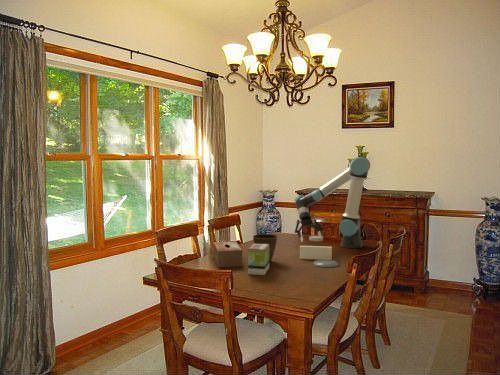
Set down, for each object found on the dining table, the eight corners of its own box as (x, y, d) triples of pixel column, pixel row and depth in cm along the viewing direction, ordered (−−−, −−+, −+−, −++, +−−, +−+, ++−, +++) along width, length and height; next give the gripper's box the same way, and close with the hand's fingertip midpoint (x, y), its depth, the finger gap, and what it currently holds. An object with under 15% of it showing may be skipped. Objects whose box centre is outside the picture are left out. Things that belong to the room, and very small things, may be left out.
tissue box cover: (242, 266, 256) (242, 250, 256) (218, 267, 254) (218, 251, 253) (235, 256, 282) (235, 241, 281) (214, 257, 279) (213, 242, 278)
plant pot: (264, 257, 277) (264, 233, 276) (282, 261, 267) (282, 236, 265) (248, 261, 267) (248, 236, 265) (265, 265, 256) (265, 239, 255)
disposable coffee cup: (307, 253, 288) (307, 235, 287) (321, 252, 289) (321, 235, 288) (310, 256, 278) (310, 238, 278) (324, 256, 279) (325, 238, 278)
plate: (326, 259, 269) (326, 258, 269) (344, 265, 257) (344, 263, 257) (308, 263, 261) (308, 262, 261) (325, 268, 248) (325, 267, 248)
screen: (299, 258, 272) (299, 246, 272) (299, 258, 274) (300, 245, 274) (331, 259, 269) (331, 247, 268) (331, 259, 271) (331, 246, 270)
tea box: (265, 275, 236) (265, 249, 235) (247, 274, 238) (247, 248, 237) (269, 268, 251) (269, 243, 250) (252, 267, 253) (252, 242, 252)
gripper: (319, 217, 305) (327, 242, 292) (286, 218, 299) (292, 244, 286) (322, 211, 299) (330, 236, 286) (288, 212, 294) (295, 238, 281)
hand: (311, 240), depth 286 cm, fingers open, 13 cm apart
